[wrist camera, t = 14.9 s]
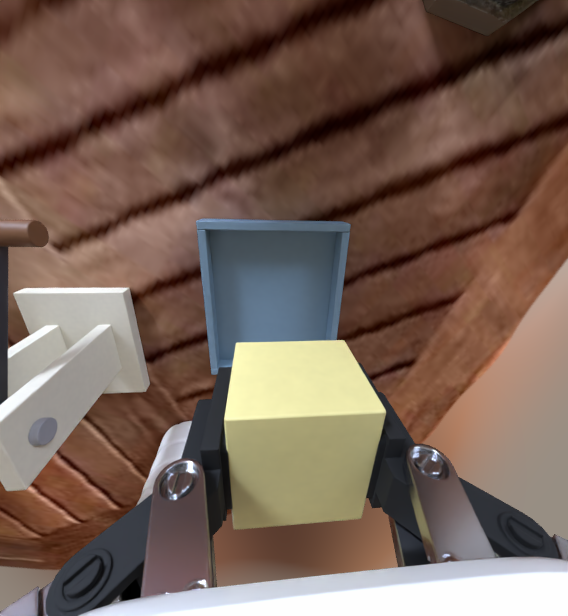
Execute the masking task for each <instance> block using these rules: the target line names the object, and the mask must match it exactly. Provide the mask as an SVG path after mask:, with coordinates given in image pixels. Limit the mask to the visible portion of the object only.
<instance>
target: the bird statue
mask: <svg viewBox="0 0 568 616" xmlns="http://www.w3.org/2000/svg"><path fill="white" fill-rule="evenodd" d="M536 1H538V0H423V2H424V5H425V9H426V11H427V12H429V13H432V14H434V15H437V16H439V17H441V18H444V19H446V20H449V21H451V22H454V23H456V24H459V25H461V26H463V27H466V28H468V29H471V30H473V31H476V32H478V33H481V34H483V35H485V36H489V35H490V34H491V33H493V32H494V31H496V30H497V29H499V28H500V27H502V26H503V25H505V24H506V23H507V22H509V21H510V20H512V19H513V18H514V17H516V16H517V15H518V14H520V13H521V12H523V11H524V10H525V9H527V8H528V7H529V6H531V5H532V4H533V3H535V2H536Z"/></svg>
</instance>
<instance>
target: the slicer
mask: <svg viewBox="0 0 568 616" xmlns="http://www.w3.org/2000/svg"><path fill="white" fill-rule="evenodd" d="M13 295H14V297H15V300H16V302H17V304H18V307H19V309H20V312H21V314H22V317H23V319H24V322H25V324H26V327H27V329H28V332H29V334H30V336H28V337H27V338H25V339H23V340H22V341H20V342H18V343H17V344H15V345H14V346H12V347H10V348H9V349H8V399H7V400H6V401H4V402H3V403H2V404H1V405H0V481H1V483H2V485H3V486H4V488H5V489H6V491H16V490H26V489H27V488H28V487H29V486H30V484H31V483H32V482H33V481H34V479H35V478H36V477H37V476H38V474H39V473H40V472H41V470H42V469H43V468H44V467H45V465H46V464H47V463H48V462H49V460H50V459H51V458H52V456H53V455H54V454H55V453H56V451H57V450H58V449H59V448H60V446H61V445H62V444H63V442H64V441H65V440H66V439H67V437H68V436H69V435H70V434H71V432H72V431H73V430H74V428H75V427H76V426H77V425H78V423H79V422H80V421H81V420H82V418H83V417H84V416H85V414H86V413H87V412H88V411H89V409H90V408H91V407H92V406H93V404H94V403H95V402H96V400H97V399H98V398H99V397H100V395H101V394H105V393H130V392H146V390H147V388H148V387H149V385H150V381H149V376H148V372H147V367H146V362H145V358H144V353H143V348H142V344H141V339H140V335H139V330H138V325H137V321H136V316H135V312H134V307H133V302H132V298H131V293H130V289H129V288H24V289H22V290H19V291H17V292H14V293H13Z"/></svg>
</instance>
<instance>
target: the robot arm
mask: <svg viewBox="0 0 568 616" xmlns="http://www.w3.org/2000/svg"><path fill="white" fill-rule="evenodd" d="M358 364H359V366H360V368H361V369H362V371H363V373H364V374H365V376H366V378H367V380H368V381H369V383H370V385H371V386H372V388H373V390H374V391H375V393H376V395H377V396H378V398H379V400H380V401H381V403H382V405H383V406H384V408H385V410H386V416H385V420H384V424H383V429H382V433H381V437H380V441H379V444H378V448H377V453H376V457H375V461H374V465H373V470H372V474H371V478H370V482H369V487H368V491H367V495H366V498H369V500H370V503H371V506H372V508H380V507H382V509H383V511H384V512H385V513H386V514H388V515H389V522H390V527H391V533H392V538H393V543H394V548H395V553H396V558H397V563H398V567H397V568H387V569H378V570H368V571H359V572H350V573H340V574H331V575H322V576H312V577H303V578H294V579H285V580H276V581H267V582H259V583H250V584H241V585H232V586H225V587H217V582H216V581H217V580H216V567H215V554H214V541H213V535H214V534H215V533H216V532H217V531H218V529H219V528H220V527H221V526H222V523H223V521H226V516H227V509H232V497H231V485H230V473H229V461H228V451H227V448H226V438H225V426H224V416H225V409H226V403H227V397H228V390H229V384H230V377H231V371H232V367H219V370H218V374H217V379H216V383H215V387H214V392H213V396H212V399H205V400H199V401H198V403H197V406H196V410H195V413H194V416H193V420H192V423H191V427H190V430H189V433H188V437H187V440H186V443H185V447H184V450H183V454H182V457H181V459H179V460H176V461H173V462H172V463H170V464H169V465H167V466H166V467H165V468H164V469H163V470H162V471H161V472H160V473H159V474H158V476H157V478H156V479H155V482H154V486H153V492H152V494H151V495H149V496H148V497H147V498H146V499H144V500H143V501H142V502H141V503H139V504H138V505H137V506H136V507H134V508H133V509H132V510H131V511H129V512H128V513H127V514H125V515H124V516H123V517H122V518H120V519H119V520H118V521H117V522H115V523H114V524H113V525H112V526H110V527H109V528H108V529H106V530H105V531H104V532H103V533H101V534H100V535H99V536H98V537H96V538H95V539H94V540H93V541H91V542H90V543H89V544H88V545H86V546H85V547H84V548H82V549H81V550H80V551H79V552H77V553H76V554H75V555H74V556H73V557H72V558H71V559H70V560H69V561H68V562H66V563H65V565H64V566H63V567H62V568H61V570H60V571H59V572H58V574H57V575H56V577H55V579H54V580H53V581H52V582H51V583H49V584H48V585H47V586H45V587H43V588H42V589H41V590H40V589H39V587H36V588H35V589H33V590H32V591H30V592H29V593H27V594H26V595H24V596H23V597H21V598H20V599H18V600H17V601H15V602H14V603H12V604H11V605H9V606H8V607H6V608H5V609H3V610H2V611H0V616H568V540H566V539H564V538H562V537H560V536H557V535H555V534H554V536H553V537H550V536H549V535H548V534H547V533H546V532H545V530H544V529H543V528H542V527H541V526H539V525H538V524H537V523H536V522H535V521H534V520H533V519H531V518H530V517H528V516H527V515H525V514H523V513H522V512H520V511H519V510H517V509H515V508H513V507H511V506H510V505H508V504H506V503H504V502H502V501H501V500H499V499H497V498H495V497H494V496H492V495H490V494H488V493H486V492H485V491H483V490H481V489H479V488H477V487H476V486H474V485H472V484H470V483H469V482H467V481H465V480H463V479H461V478H459V477H458V475H457V473H456V471H455V469H454V467H453V466H452V463H451V462H450V460H449V459H448V458H447V457H446V456H445V455H444V454H443V453H442V452H440V451H438V450H437V449H436V448H433V447H431V446H429V445H425V444H415V443H414V441H413V440H412V438H411V436H410V435H409V433H408V432H407V430H406V428H405V427H404V425H403V424H402V422H401V421H400V419H399V417H398V416H397V414H396V413H395V411H394V409H393V408H392V406H391V405H390V403H389V402H388V400H387V398H386V397H385V395H384V394H383V393H381V392H378V391H377V389H376V388H375V386H374V384H373V383H372V381H371V379H370V378H369V376H368V374H367V373H366V371H365V369H364V368H363V366H362V365H361V363H358Z"/></svg>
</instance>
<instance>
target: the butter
mask: <svg viewBox="0 0 568 616" xmlns="http://www.w3.org/2000/svg"><path fill="white" fill-rule="evenodd" d="M385 416H386V410H385V408H384V406H383V405H382V403H381V401H380V400H379V398H378V396H377V395H376V393H375V391H374V390H373V388H372V386H371V385H370V383H369V381H368V380H367V378H366V376H365V374H364V373H363V371H362V369H361V368H360V366H359V364H358V363H357V361H356V359H355V358H354V356H353V354H352V353H351V351H350V349H349V348H348V346H347V344H346V343H345V341H344V340H327V341H283V342H240V343H236V345H235V352H234V358H233V364H232V371H231V377H230V384H229V390H228V397H227V403H226V409H225V416H224V426H225V438H226V448H227V451H228V461H229V473H230V485H231V497H232V520H233V529H235V530H238V529H250V528H261V527H272V526H283V525H295V524H305V523H317V522H329V521H340V520H351V519H360V518H361V517H362V513H363V509H364V505H365V501H366V495H367V491H368V487H369V482H370V478H371V474H372V470H373V465H374V461H375V457H376V453H377V448H378V444H379V441H380V437H381V433H382V429H383V424H384V420H385Z"/></svg>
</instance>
